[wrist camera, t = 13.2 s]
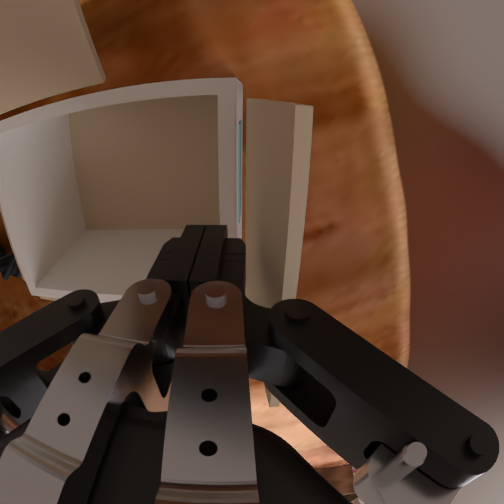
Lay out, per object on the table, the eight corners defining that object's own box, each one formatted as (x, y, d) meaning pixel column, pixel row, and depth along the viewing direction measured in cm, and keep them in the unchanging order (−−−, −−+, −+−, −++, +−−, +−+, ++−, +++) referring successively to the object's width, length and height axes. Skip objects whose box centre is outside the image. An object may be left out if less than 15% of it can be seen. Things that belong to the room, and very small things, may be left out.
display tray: (277, 489, 72) (278, 512, 64) (285, 471, 61) (286, 501, 53) (345, 482, 72) (348, 504, 65) (368, 461, 61) (373, 488, 53)
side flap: (-56, 43, 5) (-52, 39, 5) (-9, 118, 11) (-6, 113, 11) (63, -34, 5) (67, -37, 5) (103, 83, 11) (106, 78, 12)
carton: (80, 239, 27) (28, 300, 18) (58, 107, 20) (-19, 128, 11) (243, 240, 27) (238, 317, 18) (244, 84, 20) (238, 77, 11)
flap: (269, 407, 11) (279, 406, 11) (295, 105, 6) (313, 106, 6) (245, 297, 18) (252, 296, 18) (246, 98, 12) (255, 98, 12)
